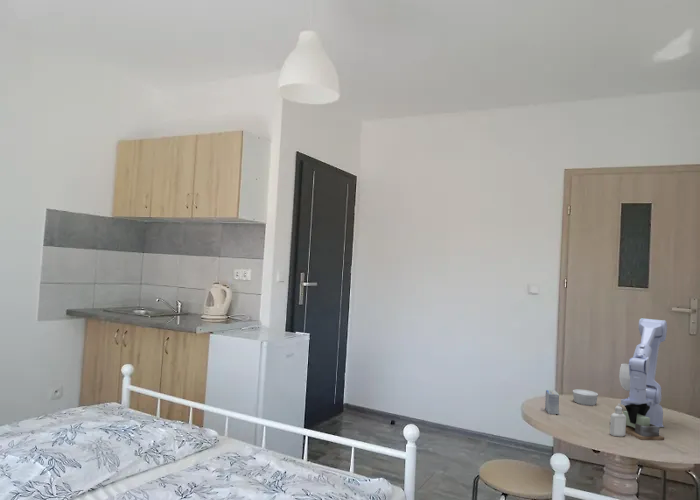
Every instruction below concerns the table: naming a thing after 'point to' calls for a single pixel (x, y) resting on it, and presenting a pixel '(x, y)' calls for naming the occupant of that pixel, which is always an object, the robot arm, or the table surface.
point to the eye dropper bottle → (618, 422)
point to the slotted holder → (644, 432)
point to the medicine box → (552, 402)
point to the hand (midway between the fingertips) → (636, 422)
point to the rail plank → (637, 420)
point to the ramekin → (585, 397)
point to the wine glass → (624, 377)
